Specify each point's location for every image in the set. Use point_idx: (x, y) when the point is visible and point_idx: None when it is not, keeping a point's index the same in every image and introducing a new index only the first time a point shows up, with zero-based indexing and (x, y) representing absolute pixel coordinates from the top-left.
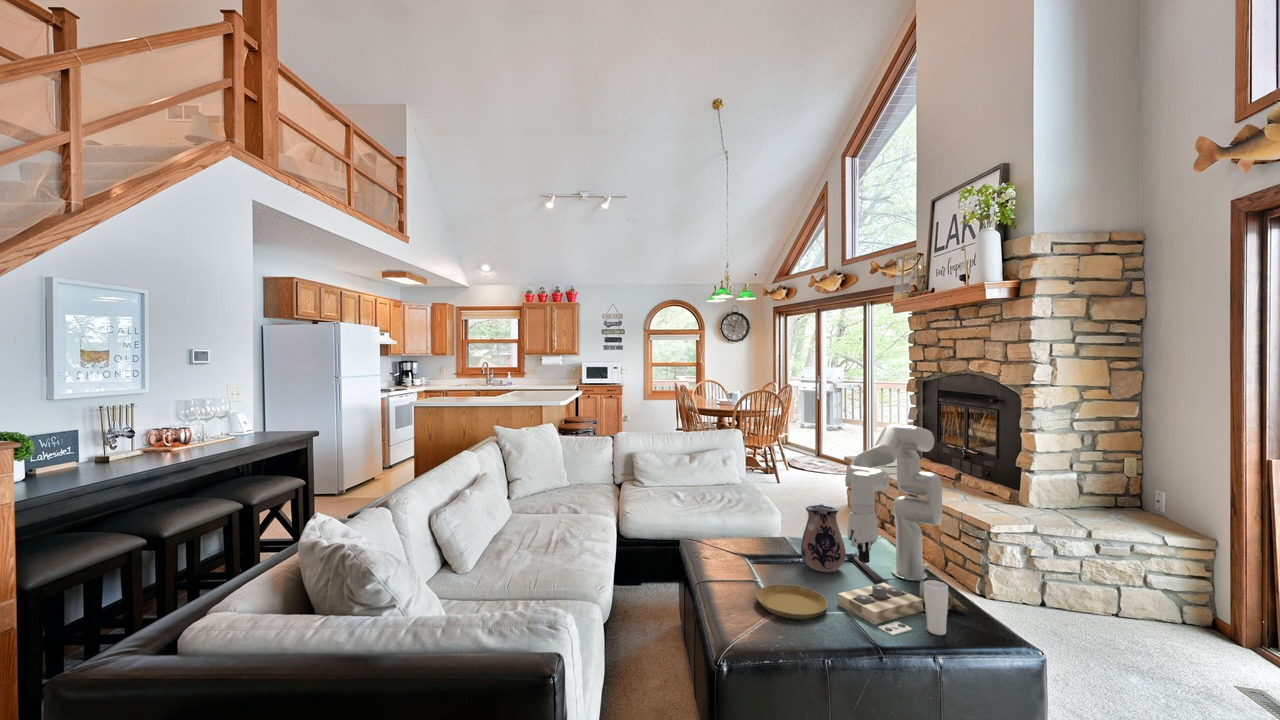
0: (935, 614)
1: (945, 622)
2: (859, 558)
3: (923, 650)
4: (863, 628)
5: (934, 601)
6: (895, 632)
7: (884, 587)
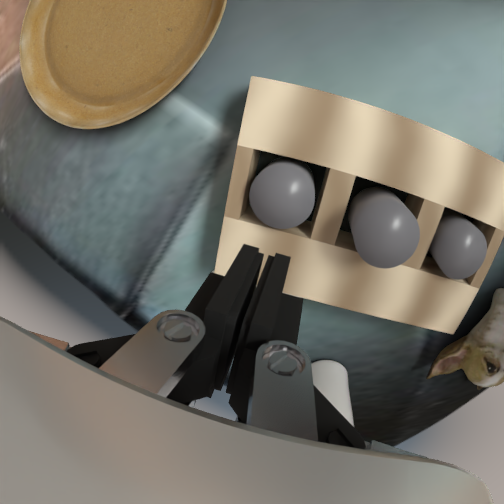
0: None
1: None
2: (210, 276)
3: None
4: (174, 242)
5: None
6: None
7: (407, 252)
